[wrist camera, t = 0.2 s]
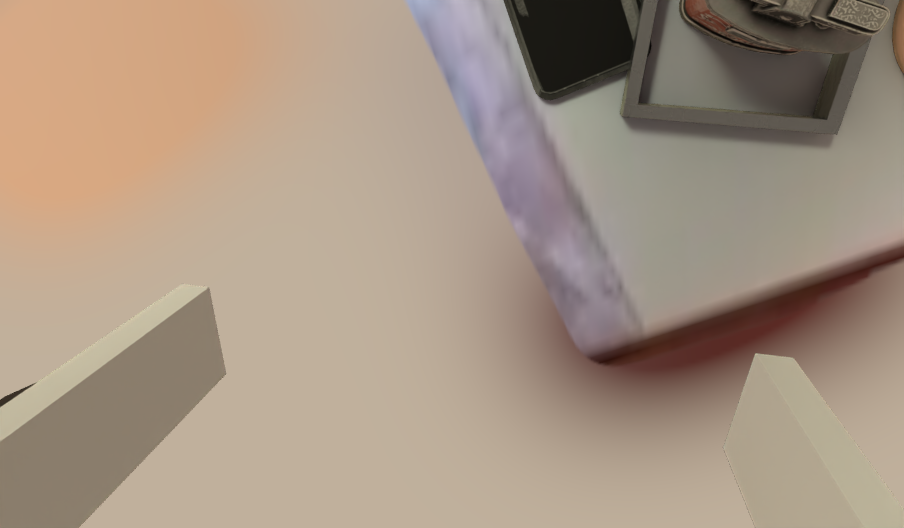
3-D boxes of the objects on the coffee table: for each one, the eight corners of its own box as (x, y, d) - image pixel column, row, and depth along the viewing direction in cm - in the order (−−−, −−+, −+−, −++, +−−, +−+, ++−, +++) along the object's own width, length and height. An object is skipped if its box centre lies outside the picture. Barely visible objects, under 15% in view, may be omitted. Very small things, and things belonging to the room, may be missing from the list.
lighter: (668, 23, 32) (706, 10, 23) (695, -36, 31) (747, -75, 22) (792, 66, 31) (881, 69, 22) (825, 8, 30) (934, -13, 21)
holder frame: (660, -108, 30) (666, -119, 28) (902, -106, 27) (925, -118, 26) (619, 113, 35) (622, 116, 33) (822, 130, 32) (837, 134, 31)
